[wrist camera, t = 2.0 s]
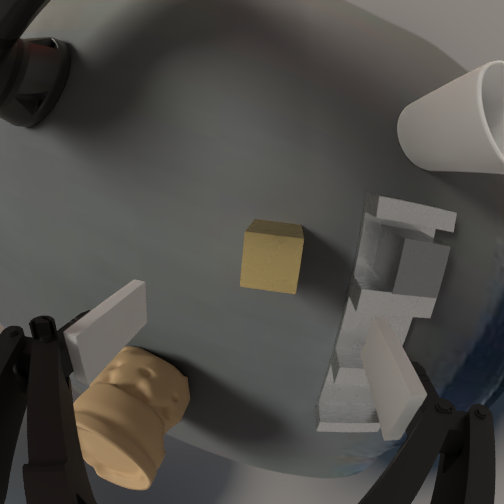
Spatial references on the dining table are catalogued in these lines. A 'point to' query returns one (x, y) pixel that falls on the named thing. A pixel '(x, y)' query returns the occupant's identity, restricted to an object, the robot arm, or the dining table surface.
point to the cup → (458, 124)
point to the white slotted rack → (382, 300)
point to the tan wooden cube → (272, 256)
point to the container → (130, 416)
